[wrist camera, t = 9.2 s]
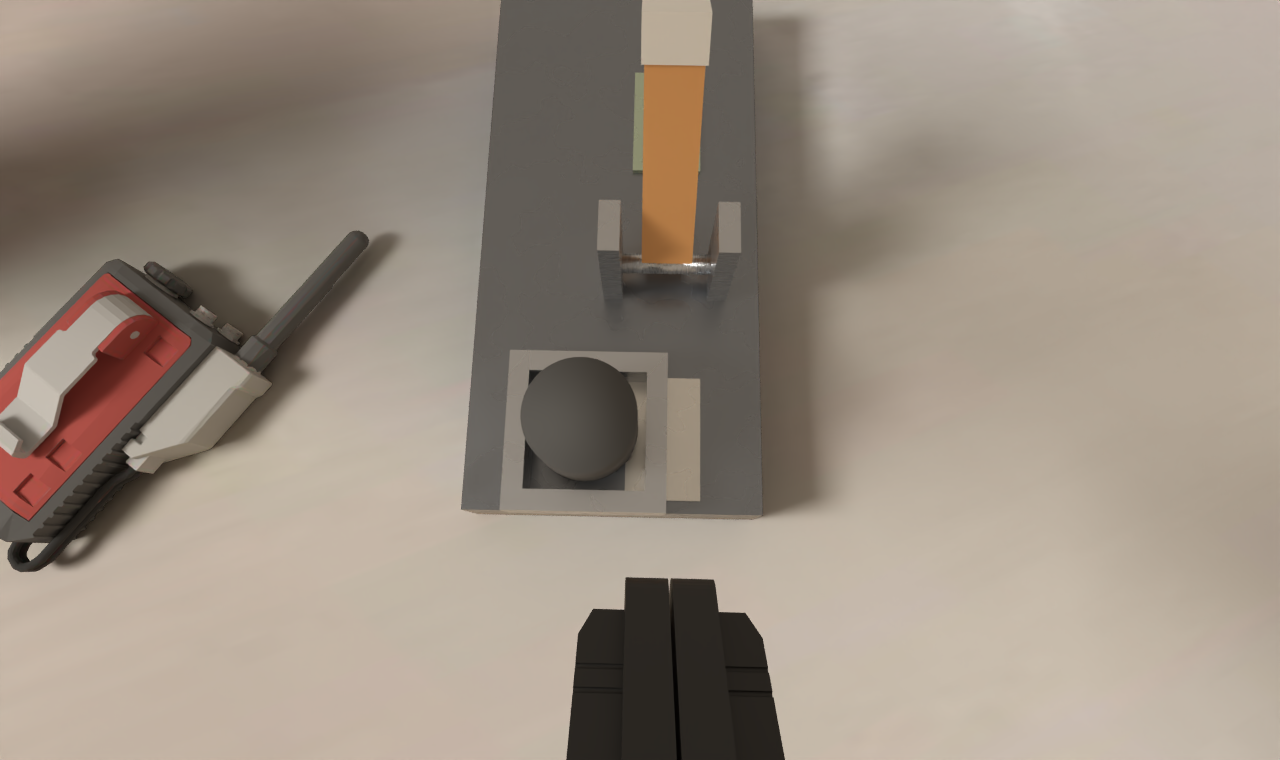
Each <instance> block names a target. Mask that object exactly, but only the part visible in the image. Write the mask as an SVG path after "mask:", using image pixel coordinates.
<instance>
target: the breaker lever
mask: <svg viewBox="0 0 1280 760" xmlns="http://www.w3.org/2000/svg"><path fill="white" fill-rule="evenodd" d="M711 27H712V7H711V2H710V0H642V24H641V65H644V117H643V194H642V263H669V264H692V259H693V244H694V229H695V214H696V199H697V184H698V169H699V154H700V139H701V125H702V110H703V95H704V80H705V66H709V55H710V41H711Z"/></svg>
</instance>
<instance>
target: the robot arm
mask: <svg viewBox="0 0 1280 760" xmlns="http://www.w3.org/2000/svg"><path fill="white" fill-rule="evenodd" d="M566 760H785V757H784V752H783V747H782V741H781V736H780V730H779V725H778V720H777V714H776V709H775V703H774V698H773V697H772V687H771V682H770V676H769V673H768V665H767V660H766V655H765V649H764V644H763V638H762V637H761V635H760V634H759V632H758V631H757V629H756V628H755V626H754V625H753V624H752V622H751V621H750V619H749V618H748V616H747V615H746V613H729V612H719V611H718V603H717V595H716V587H715V582H714V580H707V579H672V578H671V581H670V590H669V584H668V579H664V578H629V577H626V580H625V604H624V610H612V609H593V610H592V612H591V613H590V615H589V617H588V618H587V620H586V622H585V623H584V625H583V627H582V628H581V630H580V632H579V633H578V642H577V652H576V665H575V674H574V684H573V695H572V706H571V717H570V727H569V738H568V749H567V759H566Z"/></svg>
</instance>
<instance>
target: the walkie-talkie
mask: <svg viewBox="0 0 1280 760" xmlns="http://www.w3.org/2000/svg"><path fill="white" fill-rule="evenodd" d="M368 242H369V239H368V237H367V236H366V235H365V234H364V233H363V232H360V231H352V232H350V233H349V234H348V235H347V236H346V237H345V238H344V239H343V241H342V242H341V243H340V244H339V245H338V246H337V247H336V248H335V249H334V250H333V252H332V253H331V254H330V255H329V256H328V257H327V258H326V259H325V260H324V261H323V263H322V264H321V265H320V266H319V267H318V268H317V269H316V270H315V271H314V273H313V274H312V275H311V276H310V277H309V278H308V279H307V280H306V281H305V282H304V284H303V285H302V286H301V287H300V288H299V289H298V290H297V291H296V292H295V293H294V295H293V296H292V297H291V298H290V299H289V300H288V301H287V302H286V303H285V304H284V306H283V307H282V308H281V309H280V310H279V311H278V312H277V313H276V314H275V315H274V317H273V318H272V319H271V320H270V321H269V322H268V323H267V324H266V325H265V326H264V328H263V329H262V330H261V331H260V332H259V333H258V334H257V335H253V336H251V337H250V339H249V340H248V341H247V342H246V343H245V344H244V345H243V346H242V347H239V346H238V345H239V344H240V342H238V341H237V340H238V339H239V338H240V337H241V336H242V335H243V333H242V332H240V331H239V330H238V329H236V328H235V327H233V326H232V325H229V324H228V323H226V324H225V325H224V326H223V327H222V329H220V328H218V327H217V329H216V328H215V327H214V325H213V324H212V323H213V322H214V321H215V320H216V319H217V316H216V315H215V314H214V313H212V312H211V311H210V310H208V309H207V308H205V307H203V306H200V307H199V308H198V309H197V310H196V311H193V310H192V309H191V308H190V307H188V306H187V305H186V304H185V303H183V302H182V301H181V300H179V299H178V296H180V297H185V298H187V297H188V296H189V295H190V294H191V293H192V290H191V288H190V287H189V286H188V285H187V284H186V283H185V282H183V281H182V280H181V279H179V278H178V277H176V276H175V275H173V274H172V273H171V272H169V271H168V270H167V269H165V268H163V267H162V266H160V265H159V264H157V263H156V262H148V263H147V264H146V265H145V266H144V270H145V272H146V273H147V275H146V274H144V273H142V272H141V271H139V270H137V269H135V268H134V267H132V266H130V265H129V264H127V263H125V262H123V261H122V260H120V259H116V260H112V261H109V262H106V263H105V264H104V265H103V266H102V267H101V268H100V269H99V270H98V272H97V273H96V274H95V275H94V276H93V277H92V278H91V279H90V280H89V281H88V282H87V283H86V284H85V285H84V286H83V287H82V288H81V289H80V290H79V291H78V292H77V293H76V294H75V295H74V296H73V297H72V298H71V299H70V300H69V301H68V302H67V303H66V304H65V305H64V306H63V307H62V308H61V309H60V310H59V311H58V312H57V313H56V314H55V315H54V316H53V317H52V318H51V319H50V320H49V321H48V322H47V323H46V324H45V326H44V327H43V328H42V329H41V330H40V331H39V332H38V333H37V334H36V335H35V336H34V338H33V339H32V341H31V342H30V343H29V344H26V345H25V346H24V349H23V350H22V351H21V352H20V353H19V354H18V353H17V354H16V355H15V358H14V359H13V360H12V361H11V362H10V363H7V364H6V365H5V368H4V369H3V370H2V371H1V372H0V539H2V540H4V541H6V542H12V544H11V546H10V548H9V550H8V558H7V559H8V561H9V562H10V564H11V566H12V568H13V569H15V570H17V571H20V572H35V571H38V570H41V569H42V568H44V567H45V566H47V565H48V564H50V563H51V562H53V561H54V560H55V559H56V558H57V556H58V555H59V554H60V553H61V552H62V551H63V550H64V549H65V548H66V546H67V545H68V544H69V543H70V542H71V541H72V540H75V539H77V537H76V536H77V535H78V533H79V532H80V531H84V530H85V529H86V525H87V523H88V522H89V521H93V520H94V519H95V515H96V514H97V512H98V511H99V510H100V511H102V510H103V509H104V505H105V504H106V502H107V501H108V500H109V501H111V500H112V499H113V495H114V494H115V492H116V491H117V490H118V491H120V490H121V489H122V486H123V485H124V484H125V483H127V482H129V481H132V480H134V479H136V478H138V477H139V476H140V475H141V474H143V473H144V472H146V473H151V474H153V473H154V472H155V471H156V470H157V469H158V468H159V467H160V465H161V464H162V463H165V462H168V461H172V460H175V459H179V458H182V457H186V456H189V455H193V454H196V453H200V452H203V451H207V450H209V449H211V448H212V447H213V446H214V445H215V444H216V442H217V441H218V440H219V439H220V438H221V437H222V436H223V435H224V434H225V432H226V431H227V430H228V429H229V428H230V427H231V426H232V425H233V423H234V422H235V421H236V420H237V419H238V418H239V417H240V416H241V414H242V413H243V412H244V411H245V410H246V409H247V408H248V407H249V405H250V404H251V403H252V402H253V401H254V400H255V399H256V398H257V397H260V396H263V394H264V393H265V392H266V391H267V390H268V389H269V388H270V386H271V385H272V383H271V382H270V381H269V380H267V379H266V378H265V377H264V376H262V375H261V372H262V371H263V370H264V369H265V367H266V366H267V365H268V364H269V363H270V362H271V361H272V360H273V358H274V357H275V356H276V355H277V354H278V353H277V348H278V347H279V346H280V345H281V344H282V343H283V342H284V341H285V340H286V339H287V337H288V336H289V335H290V334H291V333H292V332H293V331H294V330H295V329H296V327H297V326H298V325H299V324H300V323H301V322H302V321H303V320H304V319H305V317H306V316H307V315H308V314H309V313H310V312H311V311H312V310H313V309H314V308H315V306H316V305H317V304H318V303H319V302H320V301H321V300H322V299H323V298H324V296H325V295H326V294H327V293H328V292H329V291H330V290H331V289H332V287H333V284H334V283H335V282H336V281H337V280H338V279H339V278H340V276H341V275H342V274H343V273H344V272H345V271H346V270H347V269H348V267H349V266H350V265H351V264H352V263H353V262H354V261H355V259H356V258H357V257H358V256H359V255H360V254H361V253H362V252H363V250H364V249H365V248H366V247H367V245H368ZM237 344H238V345H237ZM32 543H49V544H48V545H47V546H46V547H45V548H44V550H43V551H42V552H41V553H40V554H39V555H38V556H37V557H36V558H34V559H33V560H31V561H29V559H28V557H27V551H28V549H29V546H30V545H31V544H32Z"/></svg>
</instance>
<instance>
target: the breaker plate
mask: <svg viewBox="0 0 1280 760" xmlns="http://www.w3.org/2000/svg"><path fill="white" fill-rule="evenodd" d="M710 2H711V7H712V27H711V41H710V55H709V66H705V80H704V95H703V110H702V125H701V139H700V154H699V169H698V184H697V199H696V214H695V229H694V244H693V259H692V264H669V263H642V194H643V117H644V65H641V24H642V0H501V8H500V21H499V33H498V46H497V59H496V72H495V84H494V97H493V110H492V122H491V135H490V148H489V161H488V173H487V186H486V199H485V211H484V224H483V237H482V250H481V262H480V275H479V288H478V301H477V313H476V326H475V339H474V351H473V364H472V377H471V390H470V402H469V415H468V428H467V440H466V453H465V466H464V479H463V491H462V504H461V510H465V511H469V512H472V513H476V514H503V515H552V516H600V517H649V518H698V519H747V520H752V519H755V518H757V517H760V516H763V505H762V455H761V405H760V355H759V305H758V256H757V206H756V156H755V106H754V56H753V7H752V0H710ZM572 357H589V358H594V359H598V360H601V361H603V362H605V363H607V364H609V365H611V366H612V367H614V368H615V369H617V370H618V371H619V372H620V373H621V374H622V375H623V376H624V377H625V378H626V380H627V381H628V383H629V384H630V386H631V388H632V390H633V392H634V395H635V398H636V402H637V409H638V437H637V441H636V445H635V448H634V450H633V452H632V454H631V456H630V457H629V459H628V460H627V461H626V463H625V464H624V465H623V466H622V467H621V468H619V469H618V470H617V471H616V472H614V473H613V474H611V475H609V476H607V477H605V478H602V479H599V480H594V481H575V480H571V479H568V478H565V477H563V476H561V475H559V474H557V473H556V472H554V471H553V470H551V469H550V468H549V467H548V466H547V465H546V464H545V463H544V462H543V461H542V460H541V459H540V458H539V457H538V456H537V455H536V454H535V453H534V452H533V450H532V449H531V448H530V446H529V445H528V443H527V441H526V439H525V437H524V434H523V431H522V427H521V420H520V412H521V404H522V401H523V397H524V395H525V392H526V390H527V388H528V386H529V385H530V383H531V382H532V380H533V379H534V378H535V377H536V376H537V375H538V374H539V373H540V372H541V371H542V370H543V369H545V368H546V367H548V366H549V365H551V364H553V363H555V362H557V361H559V360H563V359H566V358H572Z"/></svg>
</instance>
